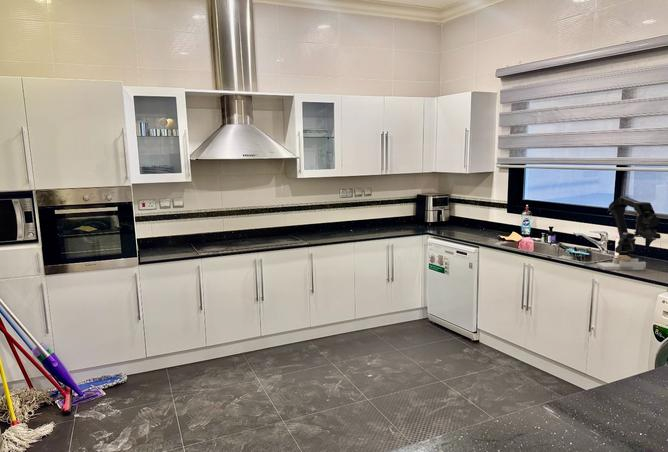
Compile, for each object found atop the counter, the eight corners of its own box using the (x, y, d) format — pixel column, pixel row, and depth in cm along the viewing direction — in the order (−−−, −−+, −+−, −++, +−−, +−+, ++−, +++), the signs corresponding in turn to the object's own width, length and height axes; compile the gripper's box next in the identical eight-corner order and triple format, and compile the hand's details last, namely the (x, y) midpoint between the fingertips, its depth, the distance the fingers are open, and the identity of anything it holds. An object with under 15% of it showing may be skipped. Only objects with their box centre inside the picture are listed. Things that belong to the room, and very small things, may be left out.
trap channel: (596, 265, 277) (597, 258, 276) (636, 265, 274) (637, 258, 274) (603, 269, 268) (604, 262, 267) (645, 269, 265) (645, 262, 265)
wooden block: (616, 263, 273) (617, 255, 273) (625, 263, 273) (626, 255, 272) (621, 265, 268) (621, 257, 268) (630, 265, 268) (630, 257, 267)
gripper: (632, 226, 259) (630, 253, 261) (667, 226, 257) (665, 252, 259) (622, 223, 270) (620, 248, 272) (656, 222, 268) (653, 248, 270)
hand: (639, 249), depth 268 cm, fingers open, 7 cm apart
